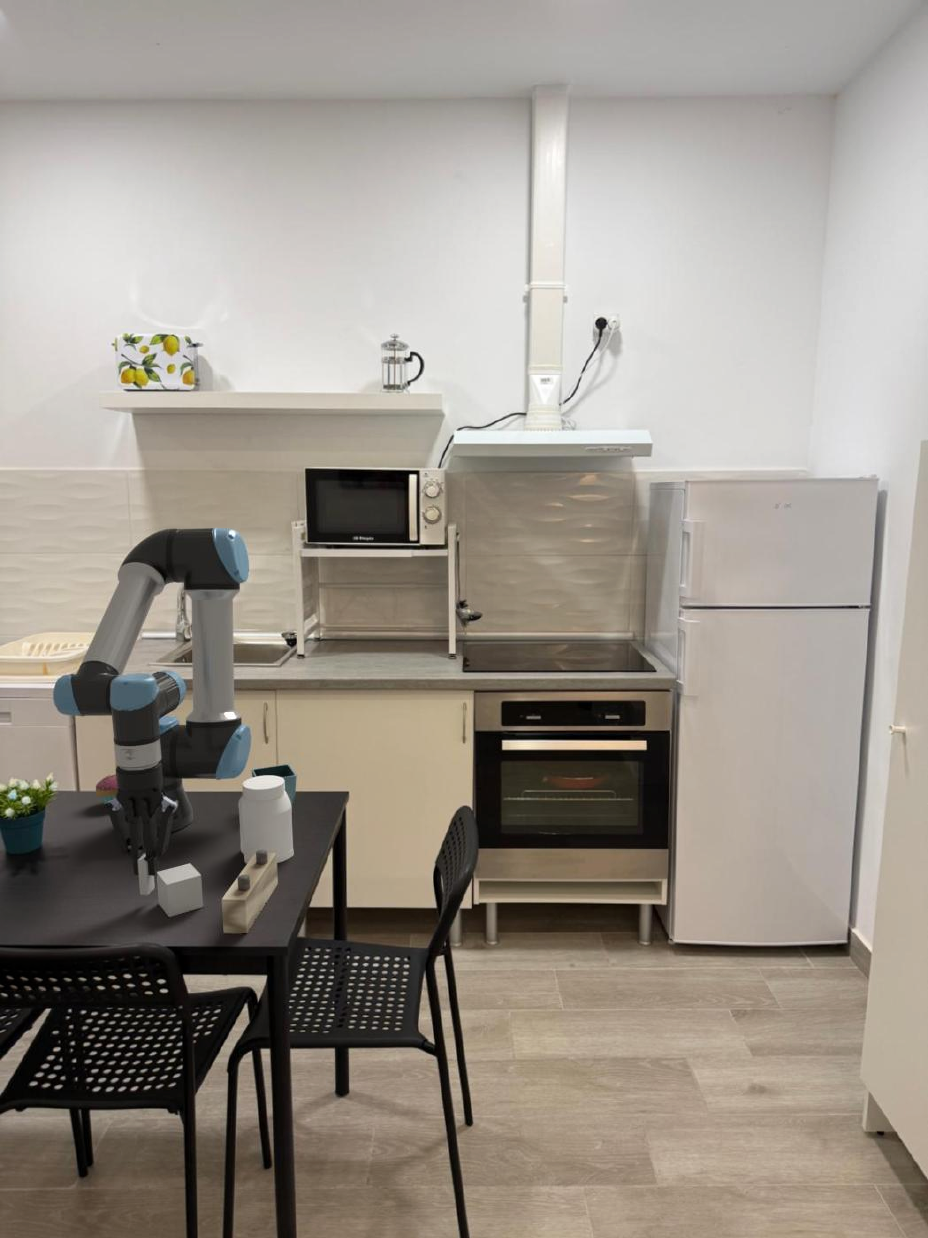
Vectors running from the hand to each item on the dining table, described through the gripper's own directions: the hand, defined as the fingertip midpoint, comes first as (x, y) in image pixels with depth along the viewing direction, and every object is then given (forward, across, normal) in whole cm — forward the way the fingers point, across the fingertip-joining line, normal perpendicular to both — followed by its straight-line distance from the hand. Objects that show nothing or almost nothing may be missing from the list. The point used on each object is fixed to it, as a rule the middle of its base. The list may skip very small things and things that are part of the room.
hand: (147, 891), depth 152 cm
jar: (+3, +15, +22) cm, 27 cm away
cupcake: (+3, -29, +46) cm, 54 cm away
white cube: (+3, +6, 0) cm, 6 cm away
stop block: (+2, +19, 0) cm, 19 cm away
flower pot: (+3, +9, +45) cm, 46 cm away
